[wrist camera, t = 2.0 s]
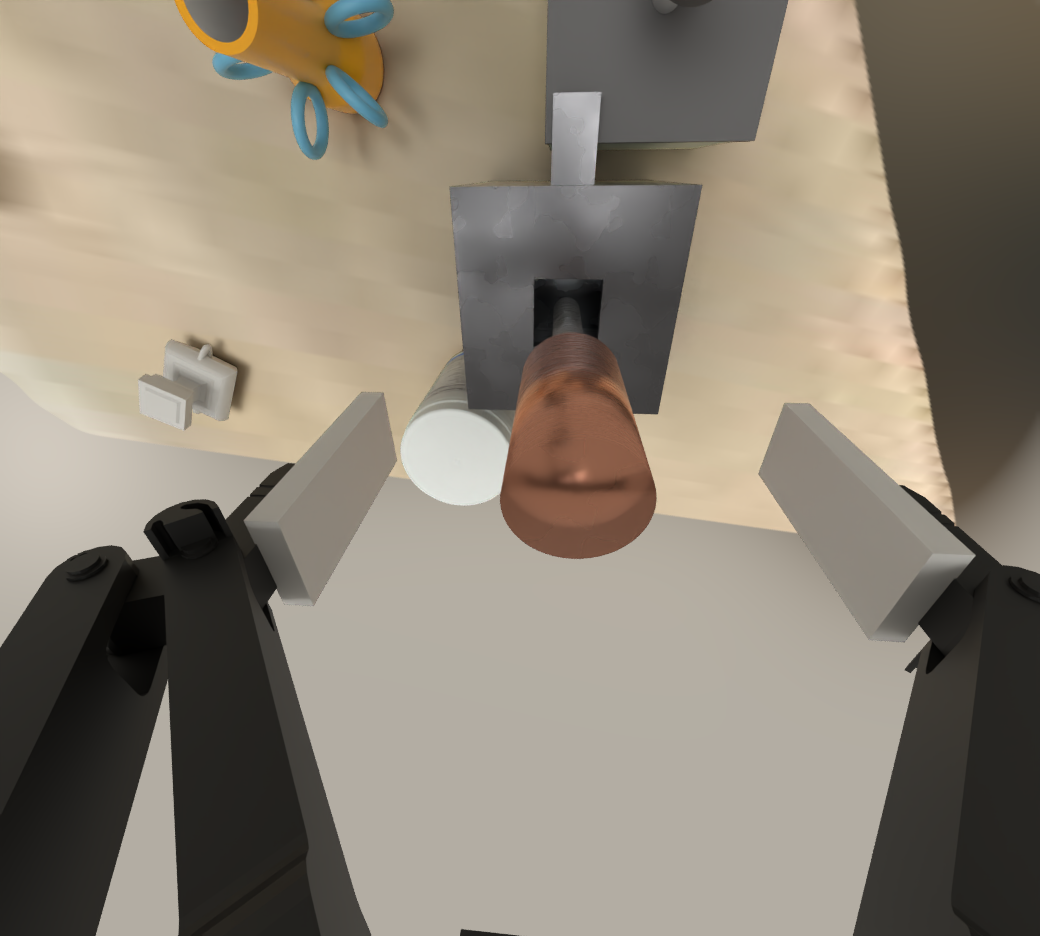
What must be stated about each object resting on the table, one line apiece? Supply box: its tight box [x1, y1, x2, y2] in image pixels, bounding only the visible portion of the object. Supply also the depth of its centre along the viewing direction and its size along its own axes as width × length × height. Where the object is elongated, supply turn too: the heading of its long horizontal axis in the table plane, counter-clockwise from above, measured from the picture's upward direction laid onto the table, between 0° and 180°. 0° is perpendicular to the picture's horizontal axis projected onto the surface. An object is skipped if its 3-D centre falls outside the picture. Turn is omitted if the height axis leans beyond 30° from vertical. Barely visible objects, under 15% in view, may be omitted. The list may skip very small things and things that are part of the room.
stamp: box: [138, 339, 237, 431], centre depth 44 cm, size 9×7×8 cm
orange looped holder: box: [175, 0, 394, 160], centre depth 26 cm, size 12×10×15 cm
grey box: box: [450, 92, 702, 414], centre depth 31 cm, size 17×13×16 cm
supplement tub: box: [400, 351, 516, 505], centre depth 40 cm, size 10×10×15 cm
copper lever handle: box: [500, 297, 656, 559], centre depth 19 cm, size 4×4×19 cm
